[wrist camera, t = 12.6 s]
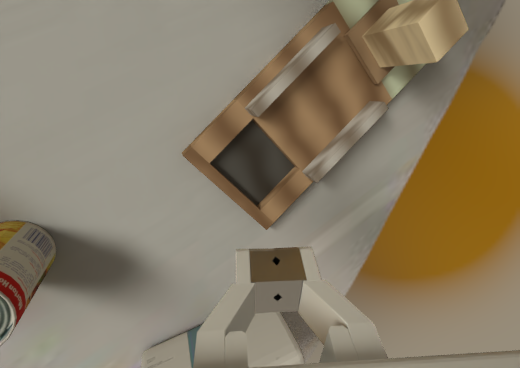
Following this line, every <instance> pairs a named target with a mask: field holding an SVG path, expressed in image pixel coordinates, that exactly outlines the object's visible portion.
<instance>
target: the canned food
mask: <svg viewBox="0 0 520 368" xmlns="http://www.w3.org/2000/svg"><path fill="white" fill-rule="evenodd" d="M55 256H56V246H55V243H54V241H53V239H52V237H51V236H50V235H49V234H48V232H47V231H46V230H44V229H42V228H41V227H39V226H38V225H35V224H32V223H29V222H25V221H18V220H16V221H5V222H1V223H0V346H1V345H2V344H3V343H4V342H5V341H6V340H7V339H8V338H9V337H10V335H11V333H12V332H13V330H14V328H15V327H16V325H17V323H18V321H19V320H20V318H21V316H22V315H23V313H24V311H25V309H26V308H27V306H28V304H29V303H30V301H31V299H32V297H33V296H34V294H35V292H36V291H37V289H38V287H39V285H40V284H41V282H42V280H43V279H44V277H45V275H46V273H47V272H48V270H49V268H50V266H51V265H52V263H53V261H54V260H55Z"/></svg>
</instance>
